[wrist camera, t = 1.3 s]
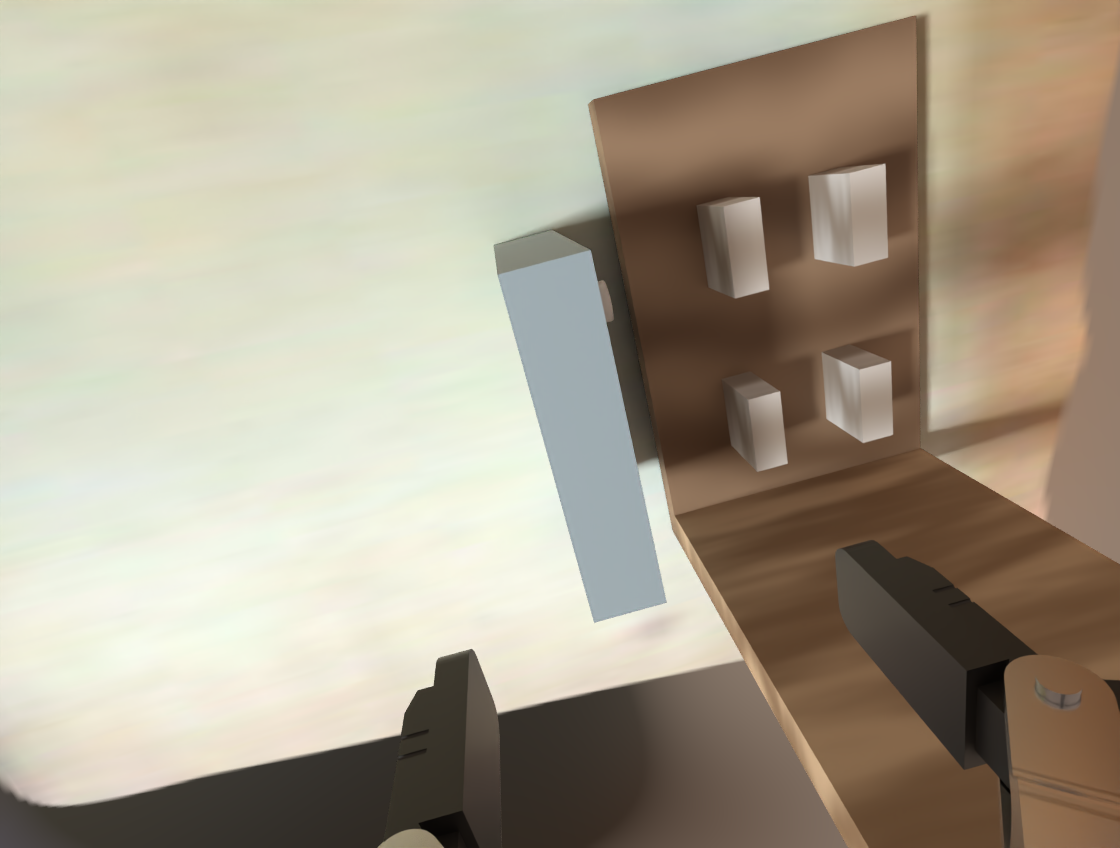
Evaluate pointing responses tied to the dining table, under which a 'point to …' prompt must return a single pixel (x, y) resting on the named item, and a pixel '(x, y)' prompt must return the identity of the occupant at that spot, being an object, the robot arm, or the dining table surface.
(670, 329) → the hinge base
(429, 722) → the robot arm
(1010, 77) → the dining table surface
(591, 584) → the door
